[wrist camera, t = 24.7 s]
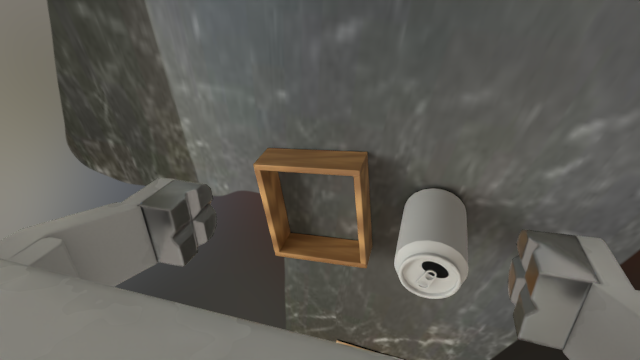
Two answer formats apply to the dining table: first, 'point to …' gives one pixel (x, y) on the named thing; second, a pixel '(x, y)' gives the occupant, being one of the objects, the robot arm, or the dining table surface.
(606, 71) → the dining table surface
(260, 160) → the crate
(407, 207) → the can
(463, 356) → the dining table surface
